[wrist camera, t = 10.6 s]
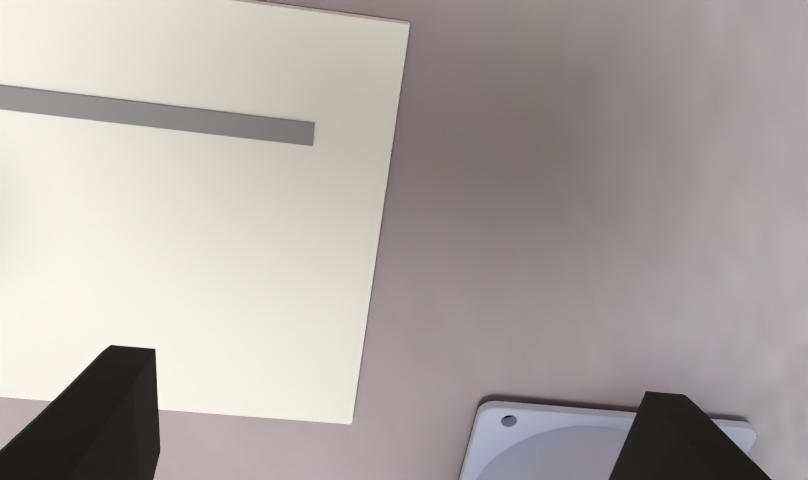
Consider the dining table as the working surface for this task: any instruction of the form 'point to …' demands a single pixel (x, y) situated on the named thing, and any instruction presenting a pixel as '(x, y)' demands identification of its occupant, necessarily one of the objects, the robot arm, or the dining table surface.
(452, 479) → the dining table surface
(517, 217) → the dining table surface
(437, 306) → the dining table surface
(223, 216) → the paper
